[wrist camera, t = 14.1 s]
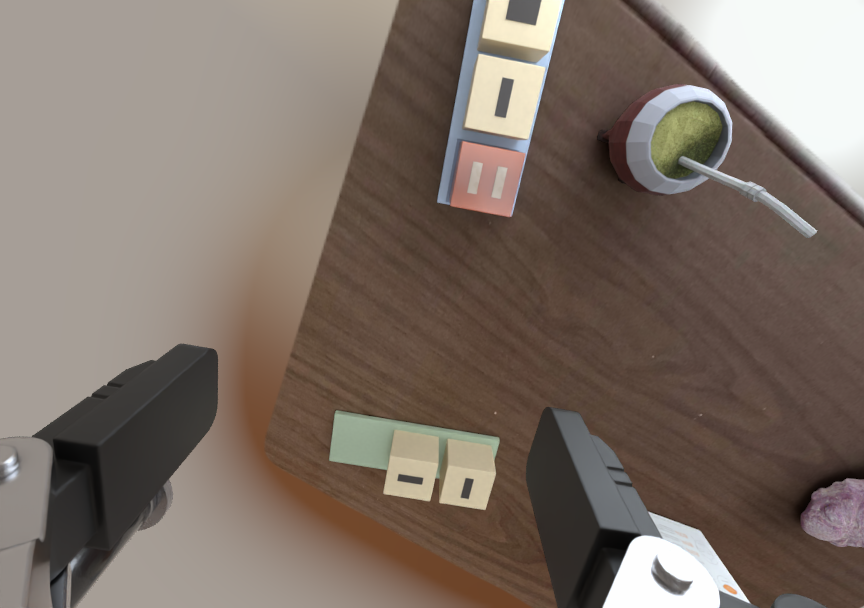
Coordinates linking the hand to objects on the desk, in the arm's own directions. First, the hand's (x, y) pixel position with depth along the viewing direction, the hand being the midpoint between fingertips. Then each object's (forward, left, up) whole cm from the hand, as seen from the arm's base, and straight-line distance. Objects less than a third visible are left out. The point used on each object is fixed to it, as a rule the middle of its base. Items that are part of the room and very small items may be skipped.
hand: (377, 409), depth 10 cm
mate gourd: (+16, +9, -28) cm, 34 cm away
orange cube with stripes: (+4, +4, -27) cm, 28 cm away
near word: (+4, +10, -28) cm, 30 cm away
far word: (+3, -24, -28) cm, 37 cm away
